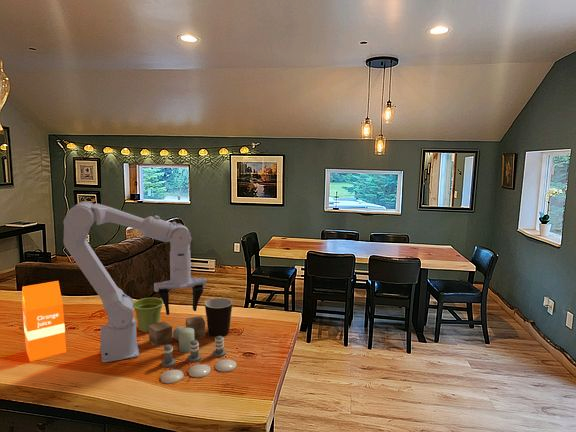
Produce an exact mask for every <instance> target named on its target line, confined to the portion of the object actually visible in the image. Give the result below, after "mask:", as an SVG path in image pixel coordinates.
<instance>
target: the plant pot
mask: <svg viewBox="0 0 576 432" xmlns="http://www.w3.org/2000/svg"><path fill="white" fill-rule="evenodd" d="M133 302H134V308H133V310H134V312H135V316H136V323H137V326H138V330H139V331H140V332H143V333H149V325H153V324H156V323H159V322H160V319H161V312H162V308H163V305H164V302H163V300H162V298H159V297H144V298H140V299H138V300H135V301H133Z"/></svg>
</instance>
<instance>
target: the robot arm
mask: <svg viewBox="0 0 576 432" xmlns="http://www.w3.org/2000/svg"><path fill="white" fill-rule="evenodd" d="M160 217H161V216H159V215H154V216H152V215H149V216H148V217H145V218H143V217H140V216H137V215H135V214H131V213H129V212H125V211H122V210H120V209H117V208H114V207H112V206H108V205H104V204H101V203H93V202H90V201H88V200H83V201H78V202H77V203H76V204H75V205H74V206H73V207H70V209H69V210H68V211H67V213H66V215H65V217H64V219H63V245H64V247H65V249H66V250H67V252H68V253H69V254H70V256H71V257H72V259H73V260H74V262H75V263H76V264H77V266H78V268H79V269H80V271H81V272H82V273H83V275H84V277H85V278H86V279H87V281H88V282H89V284H90V285H91V286H92V288H93V290H94V291H95V292H96V293H97V295H98V297H99V298H100V299H101V302H102V305H103V309H104V311H105V312H106V314H107V324H104V325H101V326H100V327H99V328H100V334H99V335H100V337H99V338H100V345H99V353H100V355H101V363H109V362H114V361H120V360H126V359H132V358H137V357H140V349H139V344H138V343H139V342H137V341H138V340H137V339H138V337H137V318H135V316H134V302H135V301H134V300H133V298H132V297H130V296H129V295H127V294H126V293H125V292H124V291H123V290H122V289H121V288H119V287H118V286H117V284H116V283H115V281H114V280H113V278H112V277H111V275H110V273H109V272H108V271H107V269H106V268H105V266H104V265H103V263H102V261H101V260H100V259H99V257H98V256H97V254H96V253H95V251H94V250H93V248H92V247H91V245H90V243H89V242H88V241H87V238H88V236H89V232H90V229H91V227H92V226H93V224H94V223H95V222H96V226H100V225H103V224H107V223H112V224H116V225H120V226H124V227H128V228H131V229H132V228H133V229H136V230H139V232H141V235H143V237H146V238H151V239H153V240H157V241H160V242H163V243H169V244H170V251H169V267H170V268H169V273H170V276H169V277H170V280H165V281H160V282H154V284H153V291H154V292H155V293H157V292H158V294H159V297H160V299H162V300H163V305H164V308H165V313H166V315H167V316H168V315H170V308H169V307H170V305H169V304H170V303H169V302H170V298H169V297H170V295H169V290H175V289H177V290H178V289H186V288H192V289H191V290H192V310H193V311H194V312H197V308H198V303H199V301H200V298H201V296H202V295H203V292H204V287H207V278H205V277H203V278H201V277H198V278H197V277H195V278H192V274H191V273H192V272H191V269H192V267H191V266H192V265H191V262H192V261H191V260H192V259H191V250H190V249H191V242H192V240H193V237H192V235H191V232H190V231H189V228H188V227H187V226H185V225H183V224H182V223H177V222H176V221H172V222H170V221H167V220H164V219H162V218H160Z"/></svg>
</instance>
